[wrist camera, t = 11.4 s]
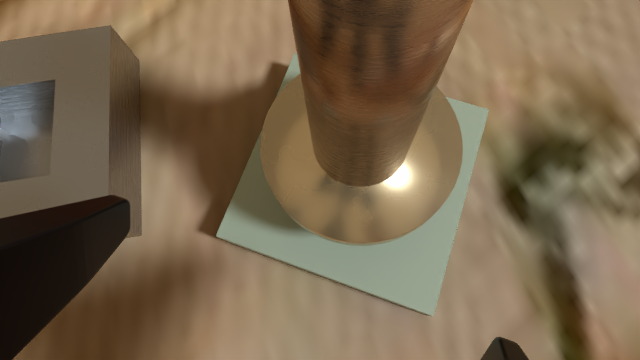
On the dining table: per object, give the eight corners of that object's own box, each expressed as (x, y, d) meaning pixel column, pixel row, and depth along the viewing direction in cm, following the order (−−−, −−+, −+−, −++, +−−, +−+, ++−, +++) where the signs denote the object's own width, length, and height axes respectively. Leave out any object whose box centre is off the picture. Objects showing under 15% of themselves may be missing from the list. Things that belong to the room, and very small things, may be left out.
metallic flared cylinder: (458, 240, 17) (1144, -162, 3) (285, 267, 17) (-34, 22, 3) (419, 88, 20) (656, -580, 5) (266, 112, 20) (44, -483, 5)
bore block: (141, 235, 20) (108, 224, 17) (-61, 265, 20) (-129, 259, 17) (139, 60, 23) (110, 25, 20) (-37, 86, 23) (-92, 55, 20)
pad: (425, 315, 18) (433, 316, 17) (224, 241, 19) (215, 236, 18) (478, 122, 21) (488, 109, 19) (297, 68, 22) (295, 52, 21)
